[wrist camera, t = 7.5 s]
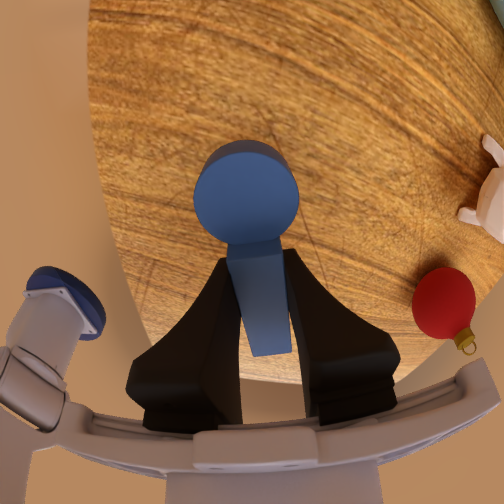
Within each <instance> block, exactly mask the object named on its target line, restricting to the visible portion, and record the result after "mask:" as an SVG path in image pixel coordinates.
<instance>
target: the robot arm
mask: <svg viewBox="0 0 504 504" xmlns="http://www.w3.org/2000/svg"><path fill="white" fill-rule="evenodd" d="M282 251H283V258H284V267H285V277H286V288H287V298H288V309H289V313H290V317H291V321H292V325H293V329H294V333H295V337H296V342H297V347H298V354H299V361H300V369H301V376H302V385H303V393H304V402H305V412H306V418H304V419H297V420H289V421H280V422H270V423H258V424H243V420H242V409H241V395H240V381H239V380H240V379H239V337H240V324H241V313H240V310H239V306H238V303H237V299H236V296H235V292H234V288H233V285H232V281H231V278H230V274H229V270H228V267H227V263H226V258H227V257H225V258H220V259H219V260H218V262H217V264H216V266H215V268H214V270H213V272H212V274H211V276H210V277H209V279H208V281H207V283H206V284H205V286H204V288H203V289H202V291H201V292H200V294H199V295H198V297H197V298H196V300H195V301H194V303H193V304H192V306H191V307H190V308H189V310H188V311H187V312H186V313H185V315H184V316H183V317H182V318H181V319H180V321H179V322H178V323H177V324H176V325H175V326H174V327H173V328H172V329H171V330H170V331H169V332H168V333H167V334H166V335H165V336H164V337H163V338H162V339H161V340H159V341H158V342H157V343H156V344H155V345H154V346H152V347H151V348H150V349H149V350H147V351H146V352H145V353H143V354H142V355H140V356H139V357H138V358H136V359H135V360H133V363H132V366H131V369H130V372H129V376H128V380H127V384H126V393H127V394H128V395H129V397H130V398H132V400H134V401H135V402H136V403H137V404H138V405H140V406H141V407H142V408H143V409H145V412H144V418H143V420H134V419H128V418H121V417H115V416H110V415H104V414H99V413H95V412H93V411H92V410H91V409H89V408H88V407H86V406H84V405H82V404H78V403H74V402H70V397H69V394H68V392H67V391H66V390H65V389H66V386H67V384H66V383H65V382H64V381H63V379H64V376H65V374H66V371H67V368H68V365H69V362H70V360H71V357H72V355H73V352H74V350H75V347H76V345H77V342H78V340H79V338H80V335H81V334H96V333H97V329H96V328H95V326H94V325H93V324H92V323H91V321H90V320H89V319H88V317H87V316H86V315H85V313H84V312H83V310H82V309H81V308H80V306H79V305H78V303H77V302H76V301H75V299H74V298H73V296H72V295H71V293H70V292H69V290H68V289H67V288H66V287H54V288H45V289H35V290H26V291H23V295H24V297H25V298H26V299H25V301H24V302H23V304H22V306H21V307H20V309H19V311H18V312H17V314H16V316H15V317H14V319H13V321H12V323H11V325H10V326H9V328H8V331H7V334H6V346H4V347H0V403H2V404H3V405H5V406H6V407H8V408H9V409H10V410H12V411H13V412H15V413H16V414H18V415H19V416H21V417H22V418H24V419H26V420H27V421H29V422H30V423H32V424H34V425H35V426H37V427H39V429H34V428H32V427H30V426H29V425H27V424H26V423H24V422H22V421H21V420H19V419H17V418H16V417H15V416H13V415H12V414H10V413H9V412H7V411H6V410H4V409H3V408H2V407H1V406H0V504H24V503H25V494H26V486H27V480H28V474H29V468H30V463H31V458H32V454H33V452H34V451H38V450H44V449H49V448H52V447H55V446H56V445H58V446H60V447H62V448H64V449H66V450H68V451H70V452H72V453H74V454H77V455H78V456H81V457H83V458H85V459H88V460H91V461H94V462H97V463H100V464H103V465H107V466H110V467H113V468H117V469H120V470H124V471H128V472H132V473H136V474H141V475H145V476H149V477H154V478H159V479H165V480H167V481H166V498H165V504H383V498H382V491H381V485H380V479H379V473H378V467H377V466H379V465H382V464H385V463H387V462H391V461H394V460H396V459H399V458H402V457H404V456H407V455H410V454H412V453H414V452H417V451H419V450H422V449H424V448H426V447H428V446H431V445H433V444H435V443H437V442H439V441H441V440H443V439H445V438H447V437H449V436H451V435H453V434H455V433H457V432H459V431H461V430H463V429H465V428H466V427H468V426H470V425H472V424H473V423H475V422H476V421H478V420H479V419H481V418H482V417H483V416H484V415H486V414H487V413H489V412H490V411H491V410H492V409H494V408H495V407H496V406H497V405H498V404H500V403H501V399H500V396H499V393H498V391H497V388H496V386H495V383H494V381H493V379H492V377H491V375H490V372H489V370H488V367H487V365H486V363H485V361H484V359H483V358H479V359H477V360H475V361H473V362H471V363H469V364H467V365H465V366H463V367H462V368H460V370H458V372H457V373H456V374H455V376H454V377H451V378H449V379H447V380H445V381H442V382H439V383H437V384H435V385H432V386H429V387H427V388H424V389H421V390H419V391H416V392H413V393H410V394H407V395H404V396H401V397H397V398H396V396H395V392H394V389H393V387H394V385H395V383H394V380H393V376H392V375H393V374H394V372H395V370H396V368H397V367H398V365H399V363H400V360H401V358H400V354H399V351H398V349H397V347H396V345H395V343H394V341H393V340H392V338H391V336H390V335H389V333H387V332H385V331H383V330H381V329H379V328H377V327H375V326H373V325H371V324H370V323H368V322H366V321H365V320H363V319H362V318H360V317H359V316H357V315H356V314H355V313H353V312H352V311H350V310H349V309H348V308H346V307H345V306H344V305H343V304H341V303H340V302H339V301H338V300H337V299H336V298H335V297H333V296H332V295H331V294H330V293H329V292H328V291H327V290H326V289H325V288H324V287H323V286H322V285H321V284H320V282H319V281H318V280H317V279H316V278H315V277H314V275H313V274H312V273H311V272H310V271H309V269H308V268H307V267H306V265H305V264H304V262H303V261H302V260H301V258H300V256H299V255H298V253H297V251H296V250H295V249H294V248H291V249H284V250H282Z"/></svg>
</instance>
